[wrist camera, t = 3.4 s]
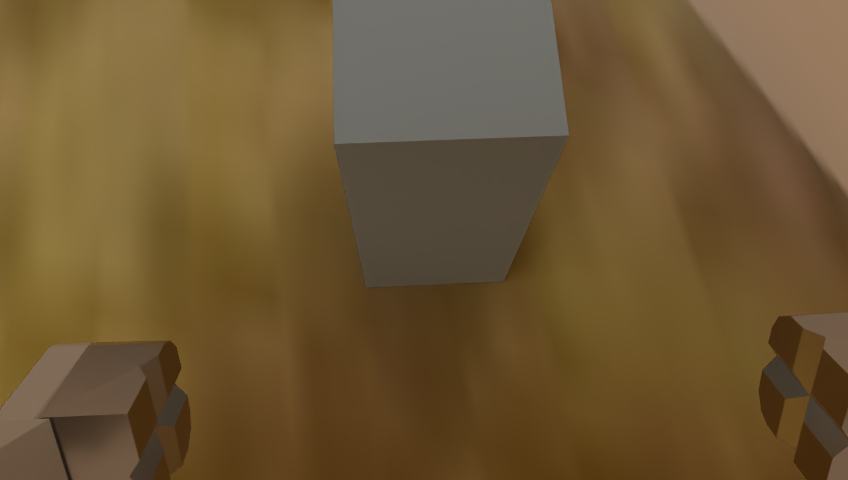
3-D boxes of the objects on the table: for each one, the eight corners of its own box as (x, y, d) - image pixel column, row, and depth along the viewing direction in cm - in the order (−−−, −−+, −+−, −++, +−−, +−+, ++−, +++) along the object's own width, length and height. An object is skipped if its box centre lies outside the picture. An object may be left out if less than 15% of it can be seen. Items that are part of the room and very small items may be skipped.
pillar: (365, 287, 20) (333, 144, 12) (362, 162, 22) (332, -48, 13) (503, 281, 21) (569, 135, 12) (492, 157, 22) (543, -54, 13)
